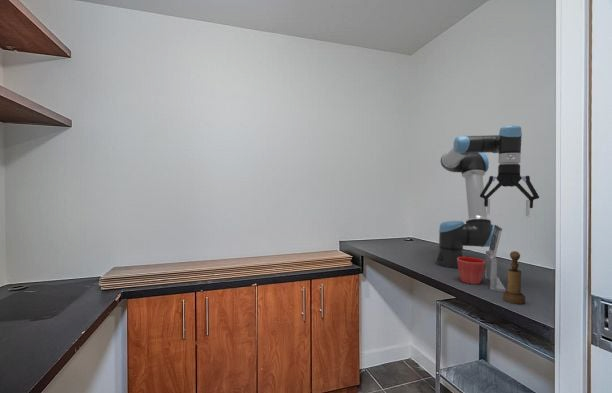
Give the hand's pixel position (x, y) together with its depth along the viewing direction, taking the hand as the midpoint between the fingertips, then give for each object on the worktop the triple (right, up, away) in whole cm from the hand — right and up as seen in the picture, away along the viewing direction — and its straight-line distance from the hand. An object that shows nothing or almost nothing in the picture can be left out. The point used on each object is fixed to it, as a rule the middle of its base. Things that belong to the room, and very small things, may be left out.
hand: (507, 215), depth 123 cm
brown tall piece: (-8, -30, -16) cm, 35 cm away
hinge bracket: (-3, -30, +3) cm, 30 cm away
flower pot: (-11, -30, +7) cm, 33 cm away
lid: (-4, -12, +3) cm, 13 cm away
